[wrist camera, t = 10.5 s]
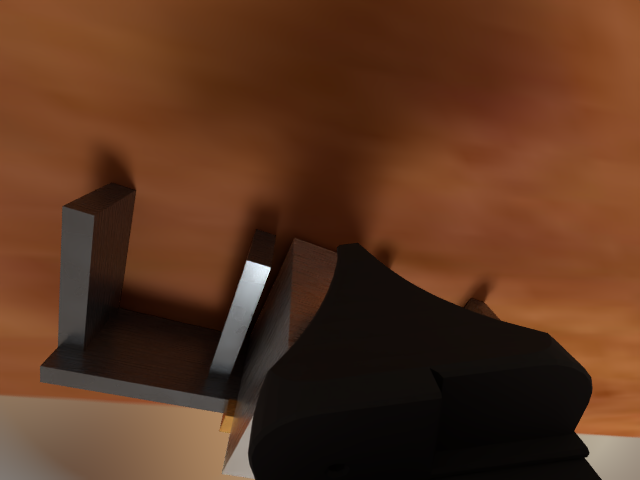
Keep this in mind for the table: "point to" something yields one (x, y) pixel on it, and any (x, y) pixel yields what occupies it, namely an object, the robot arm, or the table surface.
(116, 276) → the rack
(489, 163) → the table surface
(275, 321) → the grey block
